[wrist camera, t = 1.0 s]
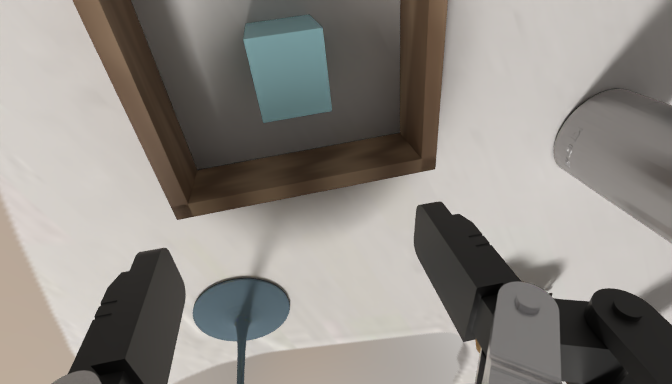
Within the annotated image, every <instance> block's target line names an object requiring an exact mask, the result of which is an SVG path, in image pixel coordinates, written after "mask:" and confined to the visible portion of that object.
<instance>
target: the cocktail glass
mask: <svg viewBox="0 0 672 384" xmlns="http://www.w3.org/2000/svg"><path fill="white" fill-rule="evenodd" d="M289 310H290V304H289V301H288V298H287V296H286V294H285V293H284V292H283V291H282V290H281V289H280V288H279V287H277V286H275V285H273V284H272V283H269V282H266V281H263V280H258V279H249V278H247V279H234V280H229V281H225V282H222V283H219V284H217V285H215V286H213V287H211V288H209V289H208V290H206V291H205V292H204V293H203V294H202V295H201V296H200V297H199V298H198V299H197V301H196V303H195V305H194V308H193V319H194V321H195V323H196V325H197V326H198V328H199V329H201V330H202V331H203V332H204V333H206V334H207V335H209V336H212V337H214V338H217V339H221V340H226V341H237V343H238V365H237V384H244V366H245V348H246V340H252V339H256V338H260V337H263V336H265V335H267V334H269V333H271V332H273V331H275V330H276V329H277V328H279V327H280V326H281V325H282V324H283V323H284V321H285V320H286V318H287V316H288V314H289Z"/></svg>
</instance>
